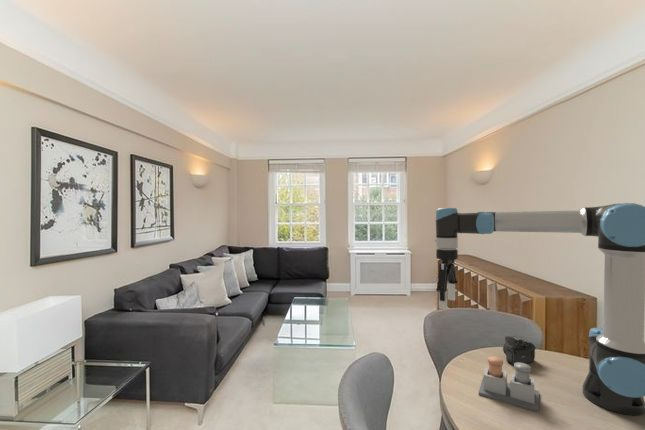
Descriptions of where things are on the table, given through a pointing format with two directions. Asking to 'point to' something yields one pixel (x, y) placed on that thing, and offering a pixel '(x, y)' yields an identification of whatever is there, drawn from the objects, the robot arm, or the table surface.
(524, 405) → the panel
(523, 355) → the camera
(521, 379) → the plug grey
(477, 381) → the table surface
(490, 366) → the plug terracotta
